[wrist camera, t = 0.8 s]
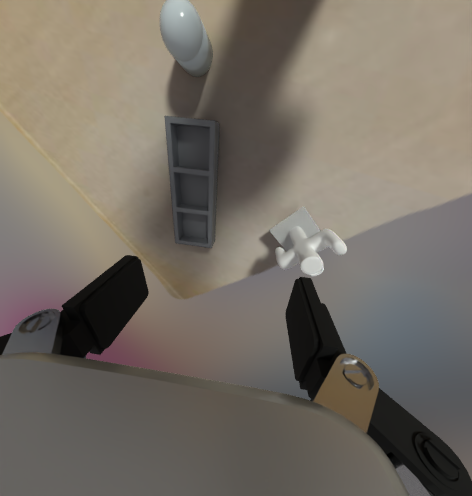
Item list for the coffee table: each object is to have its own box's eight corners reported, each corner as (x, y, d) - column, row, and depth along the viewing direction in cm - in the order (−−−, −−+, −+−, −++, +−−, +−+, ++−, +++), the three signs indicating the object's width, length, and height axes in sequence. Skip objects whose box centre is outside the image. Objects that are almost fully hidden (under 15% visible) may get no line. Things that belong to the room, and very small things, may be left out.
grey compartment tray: (173, 119, 29) (164, 115, 26) (219, 124, 29) (215, 120, 26) (181, 236, 40) (175, 243, 37) (214, 241, 39) (211, 248, 36)
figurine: (263, 226, 36) (266, 267, 23) (304, 197, 33) (334, 226, 20) (283, 250, 39) (296, 300, 25) (323, 225, 35) (363, 269, 22)
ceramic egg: (177, 26, 24) (147, -21, 18) (213, 29, 24) (195, -19, 17) (179, 75, 27) (154, 49, 20) (212, 78, 26) (196, 52, 20)
